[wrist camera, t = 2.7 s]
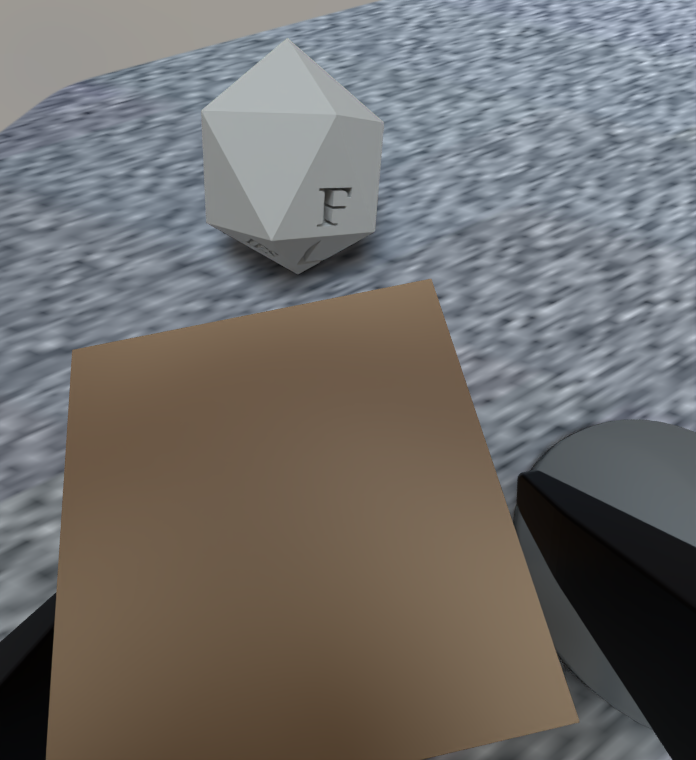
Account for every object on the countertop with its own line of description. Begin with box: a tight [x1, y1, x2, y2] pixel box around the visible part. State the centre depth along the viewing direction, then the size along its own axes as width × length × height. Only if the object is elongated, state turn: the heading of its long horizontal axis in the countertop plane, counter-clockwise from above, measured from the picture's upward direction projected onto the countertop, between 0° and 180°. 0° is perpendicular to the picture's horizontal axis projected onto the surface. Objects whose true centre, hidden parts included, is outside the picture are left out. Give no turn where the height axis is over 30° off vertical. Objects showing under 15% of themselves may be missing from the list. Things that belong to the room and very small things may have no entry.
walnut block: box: [46, 279, 579, 760], centre depth 10 cm, size 6×6×12 cm
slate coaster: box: [514, 420, 696, 730], centre depth 14 cm, size 11×11×1 cm
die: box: [201, 38, 384, 274], centre depth 18 cm, size 8×9×10 cm
